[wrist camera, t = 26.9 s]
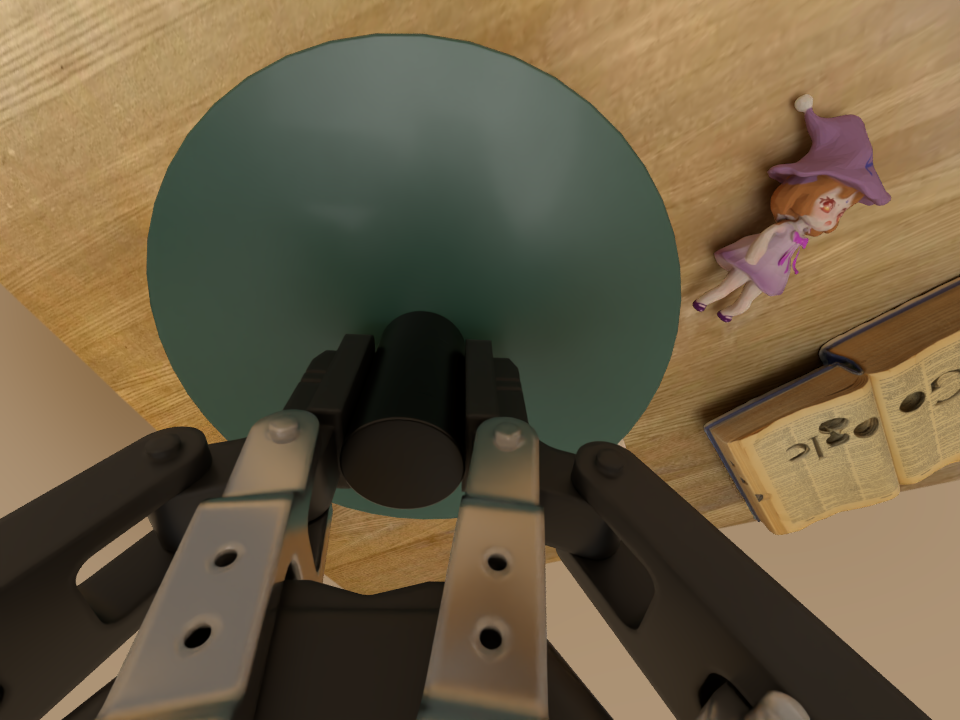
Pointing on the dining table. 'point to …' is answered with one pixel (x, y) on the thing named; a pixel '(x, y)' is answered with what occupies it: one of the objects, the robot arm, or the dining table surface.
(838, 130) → the figurine
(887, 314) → the book
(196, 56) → the dining table surface
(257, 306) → the lid
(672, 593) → the robot arm
